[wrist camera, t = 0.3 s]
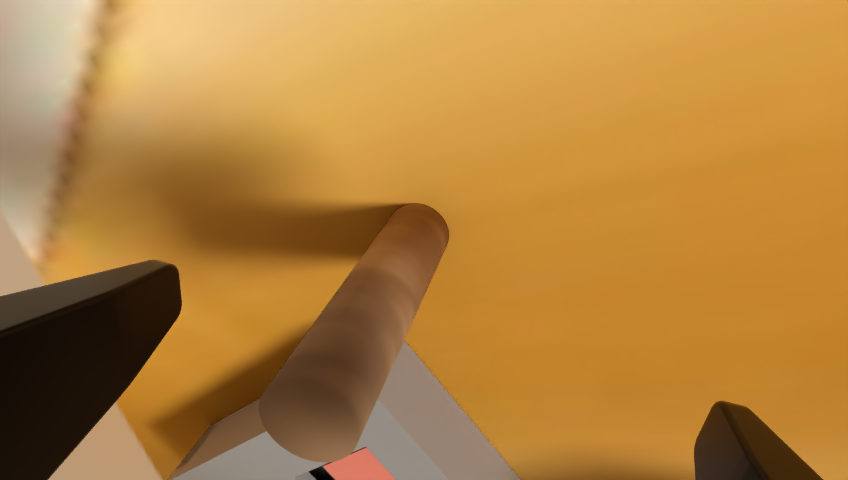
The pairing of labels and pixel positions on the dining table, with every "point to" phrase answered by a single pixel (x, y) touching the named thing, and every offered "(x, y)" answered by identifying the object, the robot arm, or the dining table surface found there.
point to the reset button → (358, 467)
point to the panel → (361, 438)
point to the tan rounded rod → (355, 341)
